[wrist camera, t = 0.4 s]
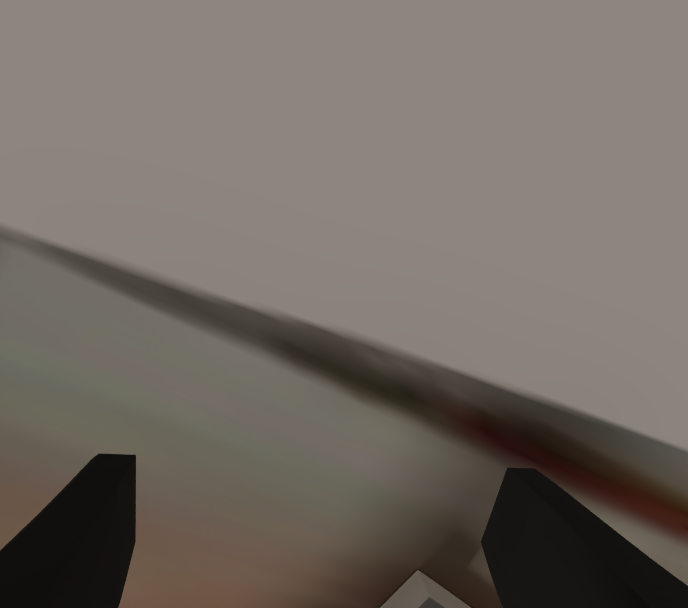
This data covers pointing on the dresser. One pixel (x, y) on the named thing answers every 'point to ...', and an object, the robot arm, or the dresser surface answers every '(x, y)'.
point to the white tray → (423, 595)
